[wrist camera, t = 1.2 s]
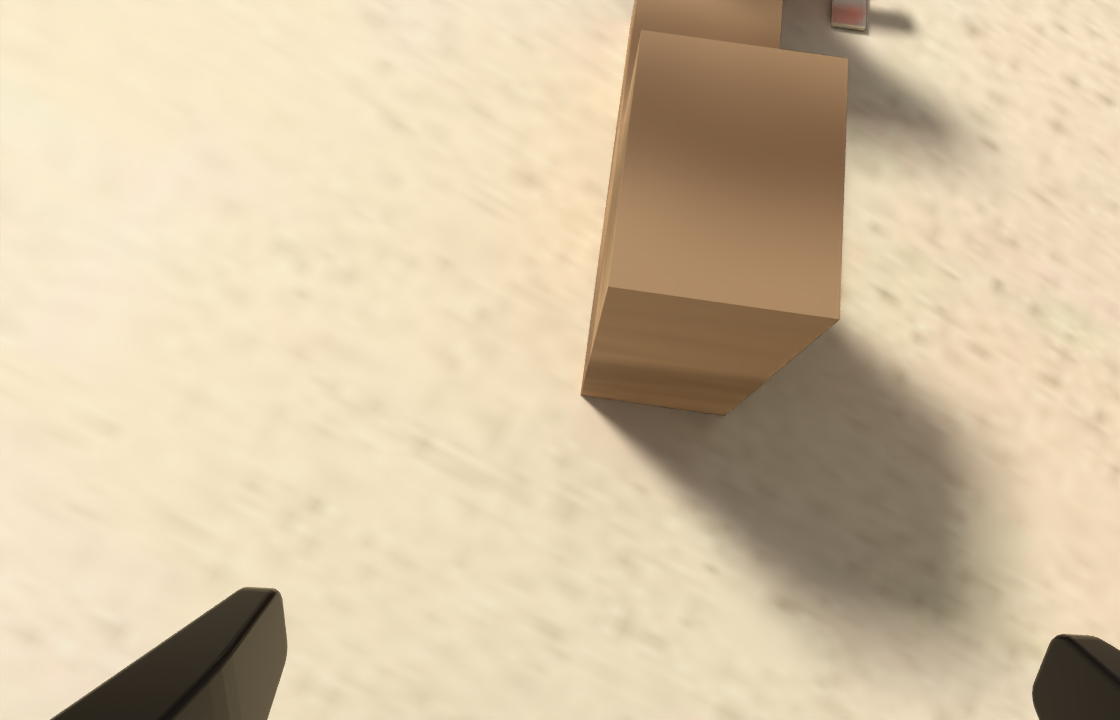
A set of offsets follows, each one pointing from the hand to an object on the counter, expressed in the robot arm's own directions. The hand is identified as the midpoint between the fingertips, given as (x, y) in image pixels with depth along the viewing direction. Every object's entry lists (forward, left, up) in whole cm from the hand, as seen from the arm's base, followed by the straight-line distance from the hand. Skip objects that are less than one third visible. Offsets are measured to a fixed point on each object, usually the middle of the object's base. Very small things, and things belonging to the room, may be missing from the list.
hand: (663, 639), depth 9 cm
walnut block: (+8, -10, -13) cm, 19 cm away
